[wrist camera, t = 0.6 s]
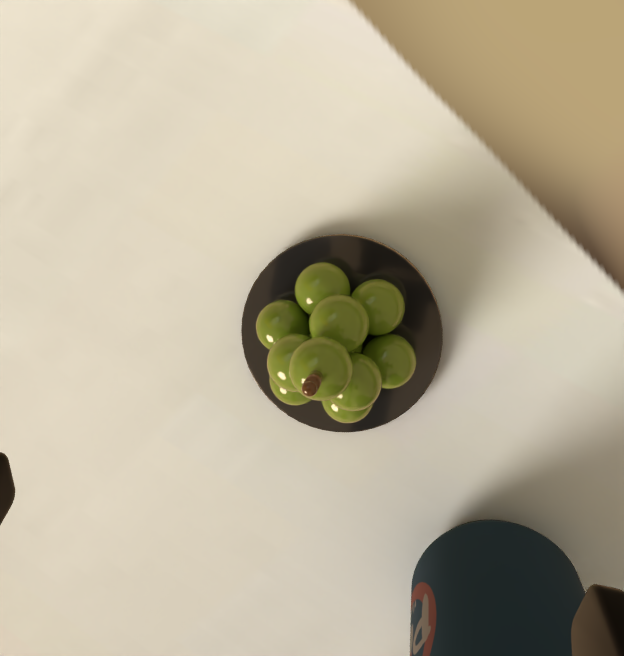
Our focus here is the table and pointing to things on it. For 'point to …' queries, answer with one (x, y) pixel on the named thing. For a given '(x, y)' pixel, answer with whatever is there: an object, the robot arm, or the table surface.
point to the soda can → (493, 594)
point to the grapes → (342, 333)
